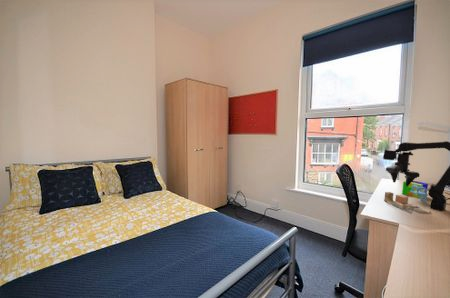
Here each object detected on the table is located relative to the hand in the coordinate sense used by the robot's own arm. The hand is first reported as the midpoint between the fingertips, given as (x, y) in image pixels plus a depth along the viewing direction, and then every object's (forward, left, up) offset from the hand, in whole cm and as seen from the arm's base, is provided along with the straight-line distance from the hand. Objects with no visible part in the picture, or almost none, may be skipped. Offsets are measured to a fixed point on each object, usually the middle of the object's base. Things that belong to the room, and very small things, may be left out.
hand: (400, 184), depth 136 cm
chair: (-13, +1, -13) cm, 18 cm away
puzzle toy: (-24, -12, -13) cm, 30 cm away
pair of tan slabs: (+2, +14, -11) cm, 18 cm away
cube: (+1, +3, -12) cm, 12 cm away
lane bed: (+5, +9, -12) cm, 16 cm away
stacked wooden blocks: (+8, +6, -11) cm, 15 cm away
